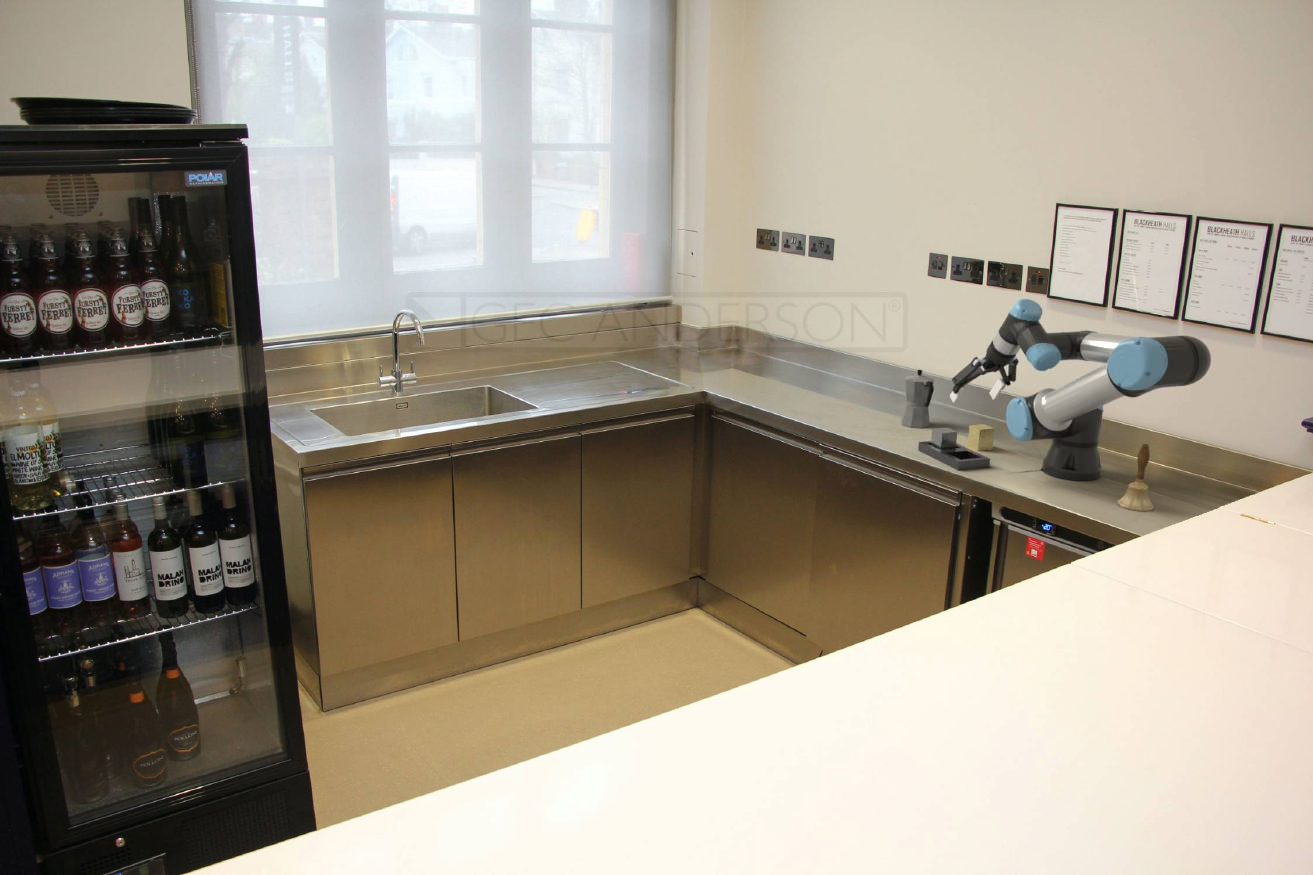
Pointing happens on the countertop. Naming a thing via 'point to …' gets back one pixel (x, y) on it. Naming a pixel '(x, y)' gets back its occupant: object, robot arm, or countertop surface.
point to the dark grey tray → (955, 456)
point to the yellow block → (981, 437)
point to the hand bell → (1138, 486)
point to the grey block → (943, 438)
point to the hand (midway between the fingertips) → (972, 398)
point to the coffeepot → (917, 400)
